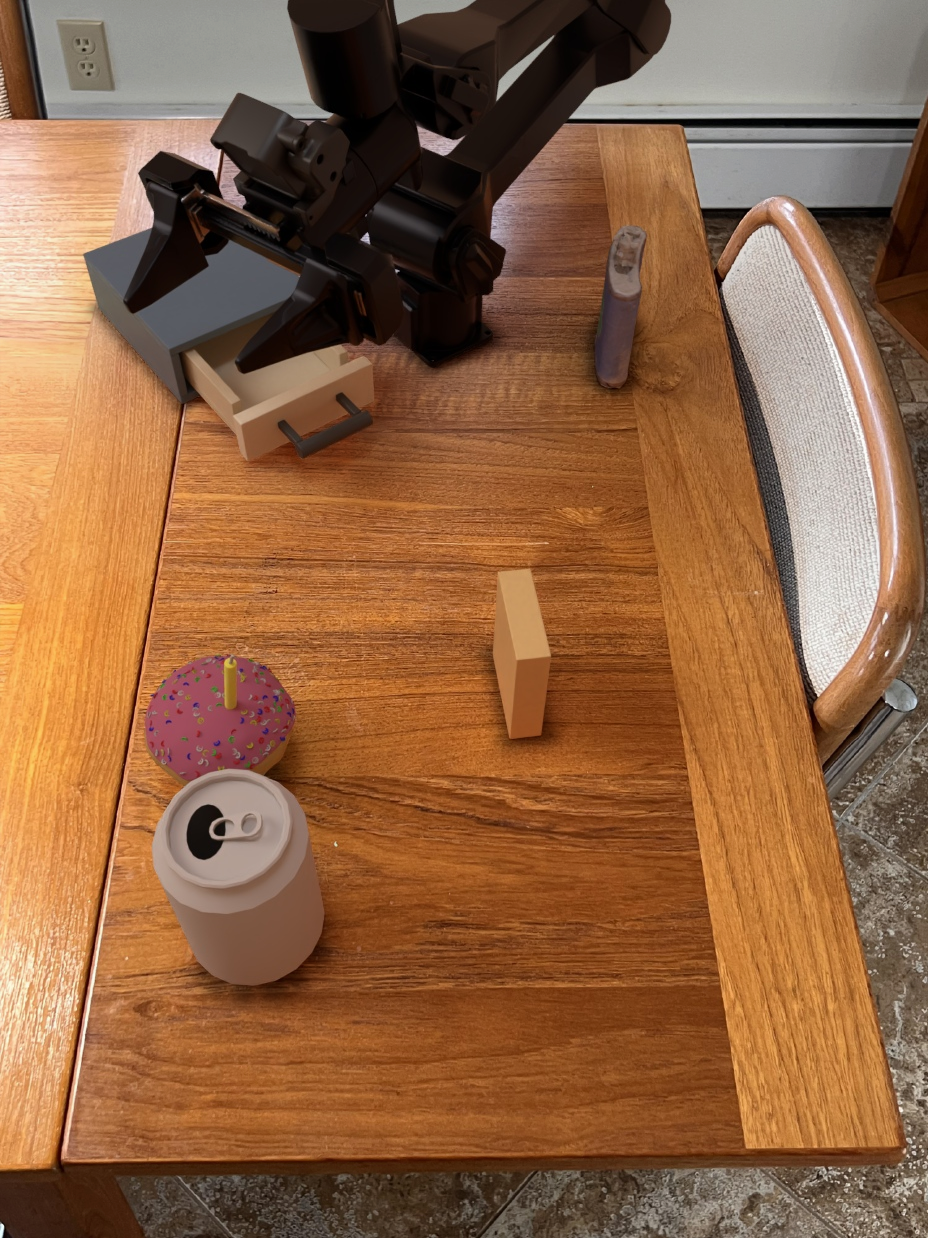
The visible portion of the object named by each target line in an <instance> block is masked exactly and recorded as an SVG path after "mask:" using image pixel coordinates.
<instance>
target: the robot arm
mask: <svg viewBox="0 0 928 1238" xmlns="http://www.w3.org/2000/svg"><path fill="white" fill-rule="evenodd" d="M286 10H287V14H288V18H289V21H290V25H291V29H292V32H293V37H294V39H295V44H296V47H297V51H298V55H299V58H300V62H301V65H302V70H303V74H304V77H305V78H304V79H305V81H306V84H307V88H308V93H309V96H310V99H311V101H312V102H313V103H314V104H315V106H317V107H318V108H320V109H321V110H322V111H325V112H327V113H330V114H331V116H329V117H328V118H327V119H326V120H325V121H322V120H320V119H315V120H313V121H312V122H311V123H310V124H307V123H306V122H304V121H302V120H300V119H296V118H295V117H294V116H292V115H291V114H289V113H288V112H286V111H284V110H283V109H280V108H278V107H276V106H273V105H271V104H269V103H266V102H264V101H261V100H259V99H257V98H254V97H253V96H250V95H248V94H245V93H242V92H237V93H236V94H235V96H234V98H232V101H231V102H230V104H229V105H228V108H227V109H226V111H225V113H224V115H223V116H222V118H221V120H220V121H219V123H218V125H217V126H216V128H215V129H214V131H213V133H212V135H211V137H210V139H209V142H210V143H211V145H212V146H213V147H214V148H215V150H218V151H220V150H221V151H222V152H223V153H224V155H226V156H227V158H228V159H229V160H230V161H231V162H232V163H233V164H234V166H235V167H236V168H237V169H238V170H239V172H238V173H237V174H236V175H235V176H234V177H233V178H232V179H233V183H234V186H235V188H236V191H237V194H239V195H240V196H242V197H244V200H245V203H244V204H242V207H240V206H237V205H236V204H233V203H231V202H229V201H227V200H225V199H224V197H223V194H222V191H221V189H220V185H219V183H218V180H217V178H216V176H215V172H214V170H211V169H209V168H207V167H205V166H203V165H201V164H199V163H196V162H195V161H192V160H190V159H187V158H185V157H184V156H181V155H179V154H178V153H174V152H170V151H165V150H164V151H163V150H159V151H158V152H157V153H156V154H155V155H154V156H153V157H152V158H151V159H150V160H149V161H148V162H147V163H146V164H144V166H143V167H141V168H140V170H139V171H138V172H137V175H138V177H139V179H140V182H141V183H142V185H143V188H144V190H145V196H146V198H147V200H148V203H149V205H150V208H151V210H152V212H153V223H152V226H151V228H152V230H151V233H150V237H149V240H148V243H147V245H146V248H145V250H144V252H143V255H142V257H141V259H140V262H139V264H138V266H137V269H136V271H135V273H134V276H133V278H132V280H131V282H130V285H129V287H128V289H127V292H126V294H125V296H124V299H123V303H124V305H125V307H126V309H127V311H128V312H130V313H132V314H135V313H137V312H139V311H140V310H142V309H144V308H146V307H148V306H150V305H152V304H153V303H155V302H156V301H158V300H159V299H161V298H162V297H164V296H165V295H167V294H168V293H170V292H171V291H173V290H174V289H176V288H177V287H179V286H180V285H182V284H183V283H185V282H186V281H188V280H189V279H191V278H192V277H194V276H195V275H197V274H198V273H200V272H201V271H203V270H204V269H206V268H207V267H208V266H209V264H208V262H207V259H206V257H205V256H209V255H213V254H218V253H219V252H220V251H221V250H222V249H223V248H224V247H225V246H226V245H227V244H228V242H229V240H231V241H233V242H235V243H237V244H239V245H241V246H243V247H245V248H247V249H249V250H251V251H253V252H255V253H257V254H259V255H261V256H263V257H266V259H267V260H269V261H270V262H272V263H274V264H276V265H278V266H280V267H282V268H284V269H286V270H288V271H290V272H292V273H295V274H297V275H298V276H299V280H298V282H297V285H296V288H295V290H294V292H293V293H292V295H291V296H290V297H289V298H288V299H287V300H286V301H285V302H284V303H283V304H282V305H281V307H280V308H279V309H278V310H277V311H276V312H275V313H274V314H273V315H272V316H271V317H270V318H269V319H268V321H267V322H266V323H265V324H264V325H263V326H262V327H261V328H260V329H259V330H258V331H257V332H256V334H255V335H254V336H253V337H252V338H251V339H250V340H249V341H248V343H247V344H246V345H245V347H244V348H243V349H242V351H241V352H240V353H239V355H238V356H237V358H236V359H235V365H236V367H237V369H238V371H239V372H240V373H242V374H247V373H250V372H253V371H255V370H258V369H261V368H264V367H267V366H270V365H273V364H276V363H279V362H281V361H284V360H287V359H290V358H293V357H296V356H299V355H302V354H306V353H309V352H313V351H317V350H321V349H325V348H329V347H333V346H337V345H344V344H350V345H352V346H354V347H359V346H360V345H362V344H363V342H365V340H366V341H368V342H370V343H372V344H374V345H376V346H378V347H381V346H384V345H385V344H387V342H388V341H389V340H390V339H392V337H393V335H394V337H395V338H397V339H398V341H400V343H402V344H403V345H404V346H405V347H406V348H407V349H408V350H410V351H411V352H412V353H414V354H415V356H417V357H418V358H419V359H420V360H421V361H422V362H423V363H425V364H426V365H427V366H428V367H430V368H436V367H438V366H441V365H443V364H444V363H446V362H448V361H451V360H452V359H455V358H456V357H459V356H461V355H463V354H466V353H468V352H470V351H472V350H474V349H476V348H478V347H480V346H482V345H484V344H485V343H489V342H490V341H492V340H493V339H494V335H495V333H494V331H493V329H491V328H490V327H489V326H488V325H487V324H485V323H484V322H483V304H484V302H483V300H484V296H490V295H491V294H492V293H493V292H494V285H495V284H494V283H495V280H497V279H498V278H499V277H500V276H501V274H502V271H503V268H504V263H505V258H506V254H507V248H505V247H504V246H503V245H501V244H499V243H498V242H497V241H495V240H493V239H492V238H491V236H492V235H491V234H492V224H493V211H494V206H495V205H496V203H497V202H498V201H499V199H500V198H501V197H502V196H503V195H504V194H505V193H506V191H508V189H510V187H511V186H512V185H513V184H514V182H515V181H516V180H517V179H518V178H519V177H520V176H521V174H522V173H523V172H524V171H525V170H526V169H527V168H528V166H529V165H530V164H531V162H533V160H534V159H535V158H536V157H537V156H538V155H539V154H540V152H541V151H542V150H543V149H544V148H545V146H547V144H549V142H550V141H551V140H552V138H553V137H554V136H555V135H556V134H557V133H558V131H559V130H560V129H561V128H562V127H563V126H564V125H565V123H567V122H568V120H569V119H570V118H571V116H573V114H574V113H575V112H576V111H577V110H578V109H579V107H581V105H582V104H583V103H584V101H586V100H587V98H588V97H589V96H590V95H591V93H593V91H594V90H596V89H598V88H602V87H606V86H609V85H612V84H617V83H621V82H623V81H627V80H629V79H630V78H632V77H633V76H634V75H635V74H637V73H638V72H639V71H640V70H641V69H642V68H643V67H644V66H645V65H647V64H648V63H649V62H650V61H651V60H652V59H653V57H654V56H655V55H657V54H659V52H660V51H661V50H662V49H663V47H664V45H665V43H666V42H667V38H668V37H669V33H670V29H671V26H672V25H671V24H672V12H671V9H670V8H669V6H668V4H667V3H666V0H474V1H472V2H471V3H469V4H468V5H467V6H465V7H463V8H460V9H457V10H455V11H445V12H444V11H443V12H432V13H431V12H430V13H429V12H428V13H423V14H420V15H418V16H415V17H413V18H410V19H407V20H406V21H402V22H401V23H398V19H397V14H396V8H395V0H287V7H286ZM550 39H551V40H550ZM549 40H550V41H549ZM548 41H549V42H548ZM546 42H548V43H547V45H546V46H545V47H544V48H543V49H542V50H541V51H540V52H539V53H538V54H537V55H536V56H535V58H534V59H533V60H532V61H531V62H530V63H529V64H528V65H527V66H526V67H525V69H524V70H523V71H522V72H521V73H520V74H519V75H518V77H516V79H515V80H513V82H512V84H510V86H508V88H506V90H505V91H504V92H503V93H502V94H501V95H500V97H498V91H499V85H500V80H501V79H502V78H503V77H505V76H506V74H508V72H509V71H510V70H511V69H513V68H515V66H516V65H518V64H519V63H520V62H521V61H523V60H524V59H526V58H527V57H528V56H529V55H531V54H532V53H533V52H535V51H536V50H537V49H539V48H540V47H541V46H542V45H544V44H545V43H546ZM418 127H419V128H421V129H423V130H425V131H428V132H431V133H433V134H436V135H438V136H440V137H442V138H445V139H449V140H450V141H458V140H460V139H461V140H460V141H459V142H458V143H457V144H456V145H455V146H454V147H453V148H452V149H451V151H450V152H448V153H447V154H440V153H437V152H435V151H432V150H430V149H429V148H426V147H423V146H421V139H420V133H419V129H418ZM367 234H368V240H369V243H368V242H366V241H365V240H362V239H363V238H364V236H366V235H367ZM396 270H397V271H396Z"/></svg>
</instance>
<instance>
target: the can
mask: <svg viewBox="0 0 928 1238" xmlns="http://www.w3.org/2000/svg"><path fill="white" fill-rule="evenodd" d="M151 855H152V864H153V865H152V866H153V870H154V872H155V873H156V876H157V879H158V880H159V882H160V885H161V888H162V889H163V891H164V893H165V895H166V897H167V900H168V902H169V904H170V906H171V908H172V910H173V913H174V915H175V918H176V920H177V922H178V924H179V926H180V928H181V930H182V932H183V934H184V937H185V939H186V941H187V943H188V945H189V947H190V949H191V951H192V953H193V955H194V957H195V960H196V962H197V963H198V964H199V965H201V966H202V967H203V968H204V969H205V970H206V971H207V972H208V973H209V974H211V976H212V977H215V978H217V979H219V980H222V981H224V982H226V983H229V984H231V985H241V986H253V987H254V986H260V985H263V984H266V983H272V982H275V981H276V982H277V981H278V980H279V979H281V978H283V977H285V976H287V975H288V974H290V973H292V972H294V971H295V970H297V969H298V968H299V967H300V966H301V965H302V964H303V963H304V961H306V960H307V958H308V957H309V956H310V955H311V954H312V953H313V952H314V949H315V947H316V946H317V944H318V941H319V940H320V937H321V936H322V932H323V926H324V920H325V906H324V902H323V896H322V890H321V886H320V881H319V876H318V871H317V867H316V866H317V865H316V861H315V857H314V851H313V847H312V841H311V836H310V831H309V826H308V821H307V816H306V813H305V811H304V809H303V808H302V806H301V804H300V803H299V801H298V799H297V798H296V796H295V794H293V793H292V792H291V791H289V789H287V788H286V787H284V786H283V785H282V784H281V783H280V782H279V781H277V780H274V779H271V778H269V777H267V776H265V775H264V776H263V775H260V774H257V773H255V772H252V771H250V770H240V769H225V770H220V771H215V772H210V773H207V774H205V775H203V776H201V777H199V778H197V779H195V780H193V781H191V782H189V783H188V784H187V785H186V786H184V787H182V788H181V789H180V790H179V791H178V792H177V793H175V795H174V796H173V797H172V798H171V800H170V802H169V803H168V805H167V807H166V808H165V810H164V812H163V814H162V815H161V817H160V819H159V820H158V821H157V823H156V827H155V831H154V835H153V840H152V843H151Z"/></svg>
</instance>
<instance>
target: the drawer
mask: <svg viewBox="0 0 928 1238" xmlns="http://www.w3.org/2000/svg"><path fill="white" fill-rule="evenodd" d="M275 312H276V311H275ZM275 312H273V313H270V314H268V315H266V316H263V317H261V318H259V319H256V320H254V321H252V322H249V323H247V324H245V325H242V326H240V327H238V328H235V329H233V330H231V331H228V332H226V333H224V334H221V335H219V336H217V337H214V338H212V339H210V340H207V341H205V342H203V343H200V344H198V345H196V346H193V347H191V348H189V349H186V350H184V351H182V352H179V357H180V362H181V366H182V370H183V375H184V377H185V378H186V379H187V381H188V382H189V383H190V384H191V385H192V386H193V387H194V388H195V390H196V391H197V392H198V393H199V394H200V395H201V396H200V397H201V398H202V399H203V400H204V401H205V402H206V403H207V404H208V406H209V407H210V408H211V409H212V411H214V412H215V413H216V415H217V416H218V417H219V418H220V419H221V420H222V422H224V424H226V426H227V427H228V428H229V429H230V430H231V431H232V432H233V433H234V435H235V436H236V439H237V444H238V449H239V453H240V455H241V456H242V457H243V458H244V459H245V460H246V461H247V462H250V461H253V460H255V459H257V458H259V457H261V456H263V455H265V454H267V453H269V452H271V451H274V450H276V449H278V448H280V447H282V446H283V445H286V444H288V443H290V442H291V443H292V445H293V446H294V450H295V453H296V454H297V456H298V457H299V459H301V460H305V459H306V458H308V457H310V456H312V455H315V454H317V453H319V452H320V451H321V452H322V451H323V450H325V449H327V448H329V447H331V446H333V445H335V444H337V443H339V442H341V441H343V440H345V439H347V438H349V437H351V436H353V435H355V434H357V433H360V432H362V431H364V430H365V429H367V428H370V427H372V426H373V425H374V420H373V417H372V415H371V414H370V412H369V411H368V410H367V409H365V410H362V409H361V408H362V407H365V406H367V405H369V404H371V403H373V402H375V386H374V385H375V384H374V371H373V370H374V367H373V363H372V362H371V361H370V360H369V358H367V357H366V356H365V355H362V356H359V357H357V358H355V359H353V360H350V361H349V351H348V350H347V349H346V348H345V347H344V346H343V344H341V345H337V346H333V347H329V348H325V349H321V350H317V351H313V352H309V353H306V354H302V355H299V356H296V357H293V358H290V359H287V360H284V361H281V362H279V363H276V364H273V365H270V366H267V367H264V368H261V369H258V370H255V371H253V372H250V373H247V374H242V373H240V372H239V371H238V369H237V367H236V365H235V359H236V358H237V356H238V355H239V353H240V352H241V351H242V349H243V348H244V347H245V345H246V344H247V343H248V341H249V340H250V339H251V338H252V337H253V336H254V335H255V334H256V332H257V331H258V330H259V329H260V328H261V327H262V326H263V325H264V324H265V323H266V322H267V321H268V319H269V318H270V317H271V316H272V315H273V314H274V313H275ZM348 414H349V415H350V417H348V418H346V419H344V420H342V421H339V422H338V423H337V422H336V423H335V424H333V425H331V426H329V427H327V428H325V429H323V430H321V431H318V432H317V433H315V434H313V435H310V436H309V437H306V438H305V439H303V438H302V437H303V436H304V435H307V434H309V433H311V432H313V431H315V430H317V429H319V428H322V427H323V426H326V425H327V424H330V423H332V422H334V421H336V420H338V419H340V418H342V417H345V416H346V415H348Z"/></svg>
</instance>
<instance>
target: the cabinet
mask: <svg viewBox="0 0 928 1238" xmlns="http://www.w3.org/2000/svg"><path fill="white" fill-rule="evenodd" d="M151 230H152V227H149V228H146V229H144V230H142V231H139V232H136V233H134V234H131V235H128V236H126V237H123V238H120V239H118V240H116V241H113V242H110V243H108V244H105V245H102V246H100V247H96V248H94V249H91V250H89V251H87V252H84V253H82V256H83V258H84V262H85V266H86V269H87V273H88V277H89V280H90V283H91V287H92V290H93V294H94V297H95V300H96V304H97V308H98V310H99V311H100V312H101V313H102V314H103V315H104V317H105V318H106V319H107V320H108V321H109V322H110V324H111V325H112V326H113V327H114V328H115V329H116V330H117V332H118V333H119V334H120V335H121V336H122V337H123V338H124V339H125V341H126V342H127V343H128V344H129V345H130V346H131V348H132V349H133V350H134V351H135V353H136V354H138V356H139V357H140V358H141V359H142V360H143V362H145V364H146V365H147V366H148V367H149V368H150V369H151V371H153V373H154V374H155V375H156V376H157V377H158V378H159V379H160V381H161V382H162V383H163V384H164V385H165V387H166V388H167V389H168V390H169V391H170V392H171V394H172V395H173V396H174V397H175V398H176V399H177V401H179V403H180V404H181V405H183V404H186V403H188V402H190V401H192V400H195V399H198V398H199V397H202V396H201V395H200V394H199V393H198V392H197V391H196V390H195V388H194V387H193V386H192V385H191V384H190V383H189V382H188V381H187V379H186V378H185V377H184V375H183V370H182V366H181V362H180V357H179V352H182V351H184V350H186V349H189V348H191V347H193V346H196V345H198V344H200V343H203V342H205V341H207V340H210V339H212V338H214V337H217V336H219V335H221V334H224V333H226V332H228V331H231V330H233V329H235V328H238V327H240V326H242V325H245V324H247V323H249V322H252V321H254V320H256V319H259V318H261V317H263V316H266V315H268V314H270V313H273V312H275V311H277V310H278V309H279V308H280V307H281V305H282V304H283V303H284V302H285V301H286V300H287V299H288V298H289V297H290V296H291V295H292V293H293V292H294V290H295V288H296V285H297V282H298V280H299V277H300V276H299V275H297V274H295V273H292V272H290V271H288V270H286V269H284V268H282V267H280V266H278V265H276V264H274V263H272V262H270V261H269V260H267V259H266V257H263V256H261V255H259V254H257V253H255V252H253V251H251V250H249V249H247V248H245V247H243V246H241V245H239V244H237V243H235V242H233V241H231V240H229V242H228V244H227V245H226V246H225V247H224V248H223V249H222V250H221V251H220V252H219V253H218V254H213V255H209V256H205V257H206V259H207V262H208V264H209V266H208V267H207V268H206V269H204V270H203V271H201V272H200V273H198V274H197V275H195V276H194V277H192V278H191V279H189V280H188V281H186V282H185V283H183V284H182V285H180V286H179V287H177V288H176V289H174V290H173V291H171V292H170V293H168V294H167V295H165V296H164V297H162V298H161V299H159V300H158V301H156V302H155V303H153V304H152V305H150V306H148V307H146V308H144V309H142V310H140V311H139V312H137V313H135V314H132V313H130V312H128V311H127V309H126V307H125V305H124V303H123V299H124V296H125V294H126V292H127V289H128V287H129V285H130V282H131V280H132V278H133V276H134V273H135V271H136V269H137V266H138V264H139V262H140V259H141V257H142V255H143V252H144V250H145V248H146V245H147V243H148V240H149V237H150V233H151Z"/></svg>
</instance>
